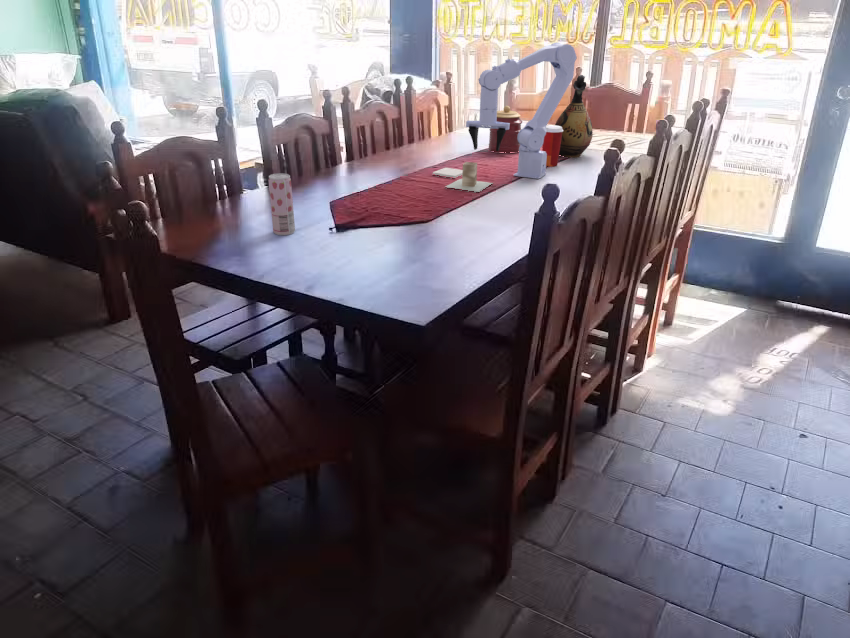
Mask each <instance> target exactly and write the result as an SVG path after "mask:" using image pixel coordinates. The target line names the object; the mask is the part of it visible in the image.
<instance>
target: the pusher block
mask: <svg viewBox="0 0 850 638" xmlns="http://www.w3.org/2000/svg"><path fill="white" fill-rule="evenodd" d="M462 170H463V174H462V176H461V177H462V178H461V179H462V186H470V187H474V186H475V185H476V182H477V181H478V180H477V178H478V177H477V175H478V162H473V161H472V162H471V161H470V162H469V161H465V162H464V163H463V164H462Z"/></svg>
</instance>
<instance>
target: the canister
mask: <svg viewBox="0 0 850 638" xmlns="http://www.w3.org/2000/svg"><path fill="white" fill-rule="evenodd" d="M521 116H522V115H521V114H520V113H518V111H515V110H511V107H510V106H509V105H505V106H504V107H503V109H502V110H497V121H496V122H504V123H510V127H509V130H506V132H505V134H504V136H503V139H502V141H501V144H500V148H499V151H496V144H497V130H498V129H493V128H489V142H488V150H490V151H489V152H491V151H494V152H504V153H505V152H506V153H510V152H517V153H519V152H518V151H519V147H520V143H519V142H518V139H517V136H518V133H519V131H520V130H521V129H522V124H523V120H521V118H520V117H521ZM491 127H493V126H491ZM494 152H493V153H494Z"/></svg>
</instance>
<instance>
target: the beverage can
mask: <svg viewBox="0 0 850 638" xmlns="http://www.w3.org/2000/svg"><path fill="white" fill-rule="evenodd" d="M268 188H269V190H268V191H269V200H270V209H271V211H270V213H271V222H272V232H273V233H274V234H275V235H277V236H289V235H293V234H294V233H295V231H296V224H295V214H294V204H293V203H294V201H293V200H294V199H293V190H292V189H293V188H292V179H291V175H290V174H289V173H283V172H281V173H272V174H270V175H268Z"/></svg>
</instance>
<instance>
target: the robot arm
mask: <svg viewBox="0 0 850 638" xmlns="http://www.w3.org/2000/svg"><path fill="white" fill-rule="evenodd" d="M577 57H578V56H577V53H576V50H575V48H574V46H572V45H571V44H568V43H567V44H565V43H564V44H563V43H560V42H553V43H552V44H547V45H545V46H543V47H542V48H539V49H537V50H535V51H534V52H532V53H530V54H528V55H527V56H524V57H522V58H521V59H518V60H517V59H513V58H512V59H510V58H507V59H505V60H504V62H503V63H501V64H499V65H497V66H496V65H493V66H492V67H491V69H485V70H483V71H482V72H481V73H480V75H479V78H478V84H479V85H480V95H479V96H480V97H479V120H466V121H465V127H466V128H468V133H469V135H470V139H471V140H472V145H473V150H474V151H477V149H478V139H479V138H478V137H479V129H481V128H483V129H490V128H493V129H498V130H497V144H496V151H499V148H500V144H501V141H502V139H503V136H504V134H505V132H506V130H509V127H510V123H504V122H496V121H497V111H498V99H499V97H498V96H499V95H498V94H499V93H498V92H499V88H500V87H501V85H503V84H506V83H507V82H509V81H511V80H514V79H516V78H517V77H520V75H521V73H522V71H524V70H527V69H528V68H530V67H533V66H535V65H537V64H540V63H543V62H549V63H550V64H551V66H552V67H553V69H554V73H555V77H554V79H553V81H552V82H551V84H550V86H549V87H548V90H547V91H546V93H545V95H544V97H543V99H542V101H541V103H539V106H538V108H537V110H535V113H534V115H533V117H532V119H530V120H529V121H528V122H526V124H525V126H524V127H523V128H521V130H520V131H519V133H518V136H517V139H518V142H519V143H520V147H519V152H518V160H517V171H516V172H515V173H513V176H514V177H520V178H521V177H522V178H527V179H528V178H529V179H537V180H538V179H541V178H542V177H544V176H546V174H547V173H546V171H547V166H546V161H547V154H546V152H545V151H542V149H541V148H542V146H543V142H544V137H545V135H546V126H547V125H549V124H548V123H549V122H550V121H551V118H552V116H553V114H554V113H555V111H556V109H557V107H558V106H559V104H560V102H561V100H562V99H563V96H564V95H565V93H566V92H567V90H568V88H569V86H570V84H571V83H572V81H573V78H574V75H575V64H576V60H577ZM491 126H493V127H491Z"/></svg>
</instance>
